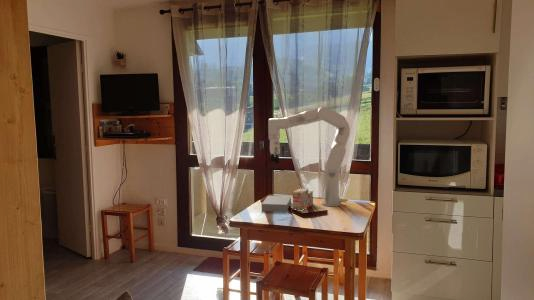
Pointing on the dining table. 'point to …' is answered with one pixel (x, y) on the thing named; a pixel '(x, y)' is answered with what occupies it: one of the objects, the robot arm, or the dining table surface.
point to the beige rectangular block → (302, 199)
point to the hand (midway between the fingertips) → (274, 162)
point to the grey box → (276, 203)
